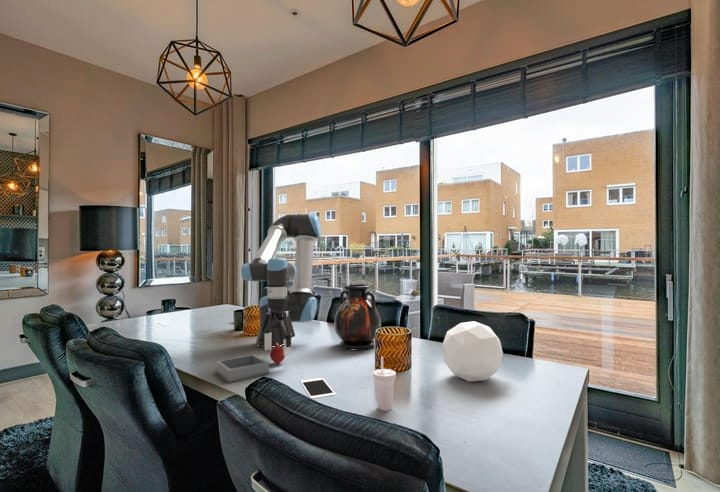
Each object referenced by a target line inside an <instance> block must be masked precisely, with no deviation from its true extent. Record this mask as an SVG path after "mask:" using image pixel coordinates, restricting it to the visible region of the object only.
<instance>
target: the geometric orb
mask: <svg viewBox="0 0 720 492" xmlns="http://www.w3.org/2000/svg"><path fill="white" fill-rule="evenodd" d="M442 342H443V343H442V345H441V346H442V354H443V355H442V356H443V357H442V358H443V362H444V363H445V365H446V366H447V368H448V369H449V371H450V372H452V374H453V376H454V375H455V377H456V376H457V377H458V378H460V379H462V380H465V381H467V382H468V383H471V382H479V381H482V382H483V381H487V380H489V379H490V378H491V377H492V376H494V375H495V374H496V373H497V372H499V369H500V367H501V363H502V360H503V356H504V351H503V348H502V347H503V346H502V343H501V339H499V337H498V336H497V335H496V333H495V332H494V331H493V329H492V328H491V327H490V326H488V325H487V324H483V323H481V322H477V321H472V320H471V321H467V322H466V321H465V322H460V323H458V324H457V325H455V326H454V327H451V328H450V329H449V330H447V331H446V334H445V336H444V339H443V341H442Z"/></svg>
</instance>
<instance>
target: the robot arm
mask: <svg viewBox="0 0 720 492" xmlns="http://www.w3.org/2000/svg"><path fill="white" fill-rule="evenodd" d="M321 236H322V227H321V222H320V218H319V216H318V215H317V214H315V213H314V214H312V213H311V214H310V213H306V214H303V213H302V214H301V213H300V214H285V215H284V216H281V217H279V218H278V219H276V220H275V221H274V222H273V223H272V224H271V225H270V226H269V228H268V229H267V235H266V237H265V239H264V241H263V242H262V244H261V245H260V247H259V249H258V251H257V253H256V254H255V256H254V257H253V259H252V261H251V262H248V263H243V265H242V266H241V269H240V275H241V278H242V280H244V281H247V282H249V281H250V282H267V285H266V286H267V289H266V292H267V295H266V296H262V297H261V298H260V300H259V306H258V308H259V309H258V310H259V331H258V333H257V336H256V338H255V345H256V344H257V345H259V346H265V348H264V351H271V350H272V349H273V347H272V346H276V344H277V343H278V344H279V345H282V344H284V346H283V349H284V356H285V357H288V356H291V354H292V339H293V338H294V337H296V334H295V329H294V326H293V323H309V322H312V321H313V320H314V319H315V317H316V312H317V307H318V300H317V298H316V297H315V296H314V293H313V292H312V277H313V261H314V247H315V246H314V245H315V244H316V243H317V242H318V238H320V237H321ZM288 238H293V240H294V242H295V243H296V245H295V259H294V264H293V263H291V262H287V261H288V260H287V259H286V258H285V257H282V258H281V257H279V258H278V257H275V256H276V254H277V253H278V251H279V249H280V246H281V244H282V243H283V242H285V241H286V239H288ZM291 280H293V283H292V290H290V291H289V293H288V282H289V281H291Z"/></svg>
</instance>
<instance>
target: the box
mask: <svg viewBox="0 0 720 492" xmlns="http://www.w3.org/2000/svg"><path fill="white" fill-rule="evenodd" d="M215 371H216V373H217V374H218V375H219V376H221V378H223V379H224V380H225V381H226V382H228V383H229V384H230V383H235V382H239V381H243V380H247V379H248V380H249V379H252V378H256V376H257V377H262V376H266V375H270V363H269V362H268V361H267V360H265V359H263V358H262V357H259V356H258V355H256V354H249V355H242V356H236V357H233V358H227V359H226V358H225V359H222V360H221V359H220V360H216V370H215ZM261 375H262V376H261Z"/></svg>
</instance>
